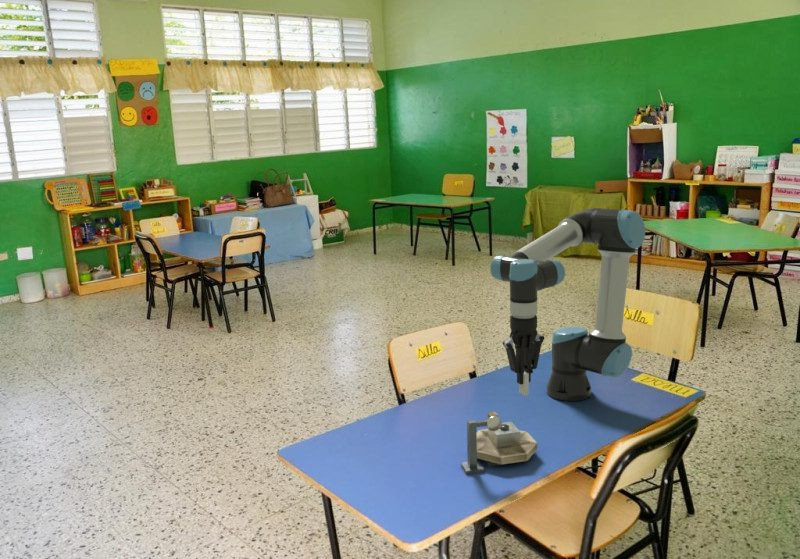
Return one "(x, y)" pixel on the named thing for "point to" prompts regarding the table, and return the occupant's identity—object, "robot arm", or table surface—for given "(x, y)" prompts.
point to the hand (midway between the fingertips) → (523, 393)
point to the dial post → (473, 463)
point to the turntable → (504, 448)
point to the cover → (505, 435)
